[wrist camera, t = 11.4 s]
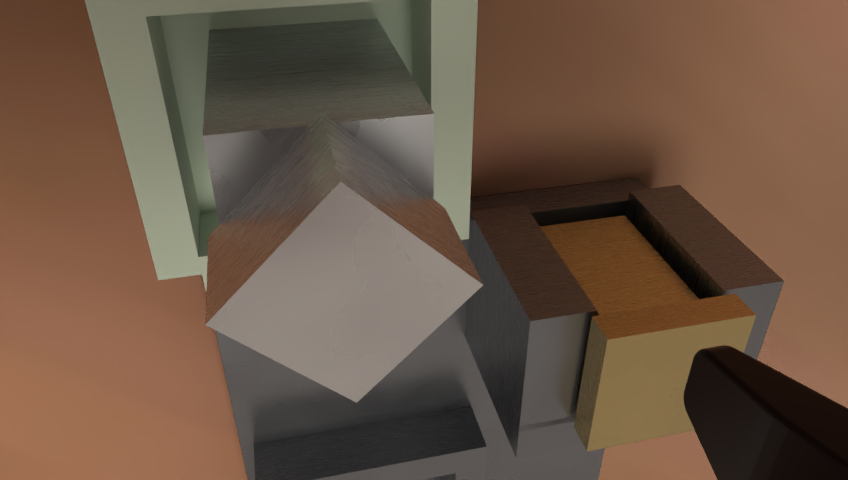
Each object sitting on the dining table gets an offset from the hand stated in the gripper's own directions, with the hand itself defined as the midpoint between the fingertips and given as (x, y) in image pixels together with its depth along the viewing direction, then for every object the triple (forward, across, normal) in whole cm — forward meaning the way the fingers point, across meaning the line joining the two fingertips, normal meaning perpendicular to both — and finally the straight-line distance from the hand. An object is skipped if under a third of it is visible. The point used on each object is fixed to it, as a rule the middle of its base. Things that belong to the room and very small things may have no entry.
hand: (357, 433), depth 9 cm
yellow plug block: (+10, -8, +5) cm, 14 cm away
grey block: (+11, 0, 0) cm, 11 cm away
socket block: (+11, -4, +11) cm, 17 cm away
